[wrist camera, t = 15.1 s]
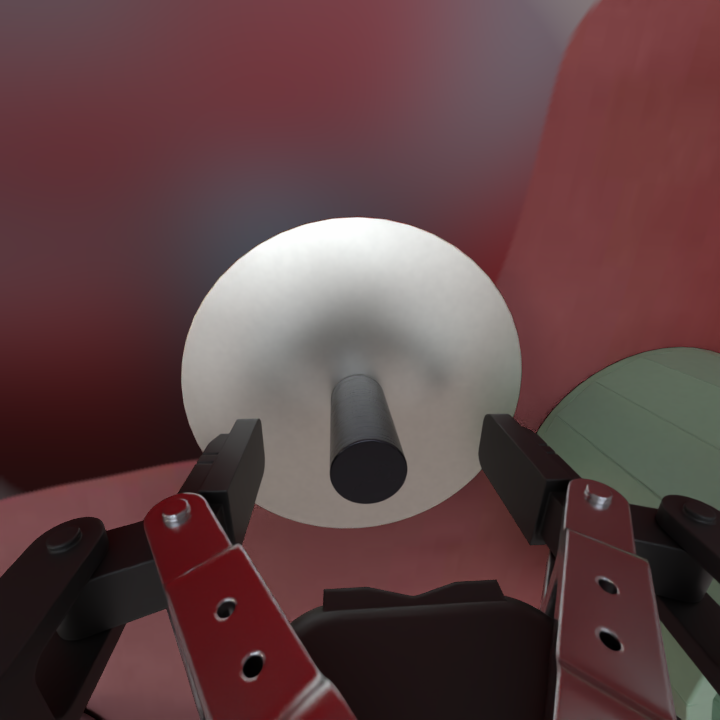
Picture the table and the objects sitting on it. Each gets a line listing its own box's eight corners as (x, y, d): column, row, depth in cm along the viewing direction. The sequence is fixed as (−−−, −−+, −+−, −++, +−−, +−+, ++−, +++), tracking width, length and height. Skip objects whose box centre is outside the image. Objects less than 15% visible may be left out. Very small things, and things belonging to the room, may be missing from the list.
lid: (216, 518, 18) (161, 652, 12) (162, 215, 13) (21, 197, 7) (486, 504, 19) (553, 620, 13) (535, 220, 14) (679, 206, 8)
